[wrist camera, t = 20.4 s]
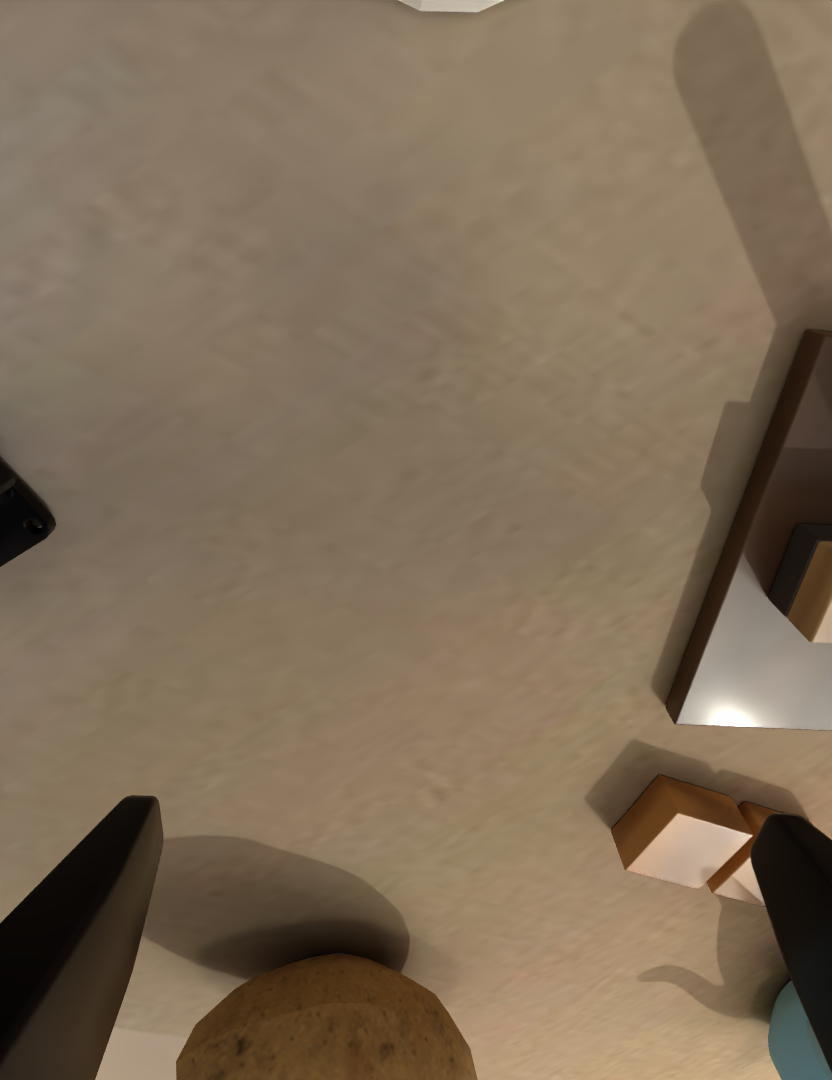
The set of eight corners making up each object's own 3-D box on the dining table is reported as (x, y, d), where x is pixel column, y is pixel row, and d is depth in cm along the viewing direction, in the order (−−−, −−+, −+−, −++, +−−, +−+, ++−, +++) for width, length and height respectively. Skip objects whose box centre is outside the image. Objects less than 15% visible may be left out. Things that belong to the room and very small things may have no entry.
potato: (217, 896, 30) (168, 1106, 23) (491, 933, 33) (521, 1133, 26) (187, 1003, 35) (139, 1208, 28) (432, 1029, 37) (444, 1223, 30)
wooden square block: (692, 853, 31) (711, 893, 29) (744, 800, 29) (767, 839, 27) (757, 872, 32) (779, 911, 30) (811, 821, 30) (838, 860, 28)
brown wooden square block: (610, 831, 30) (624, 870, 28) (659, 773, 28) (677, 812, 26) (680, 850, 31) (698, 890, 29) (731, 796, 29) (754, 835, 27)
